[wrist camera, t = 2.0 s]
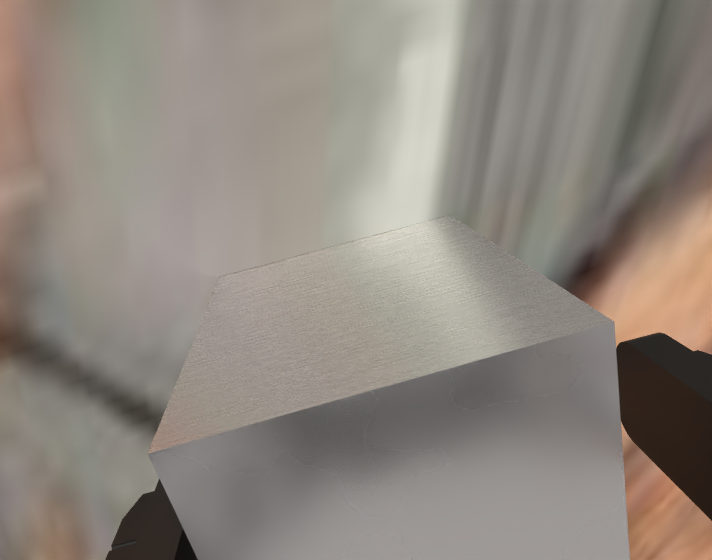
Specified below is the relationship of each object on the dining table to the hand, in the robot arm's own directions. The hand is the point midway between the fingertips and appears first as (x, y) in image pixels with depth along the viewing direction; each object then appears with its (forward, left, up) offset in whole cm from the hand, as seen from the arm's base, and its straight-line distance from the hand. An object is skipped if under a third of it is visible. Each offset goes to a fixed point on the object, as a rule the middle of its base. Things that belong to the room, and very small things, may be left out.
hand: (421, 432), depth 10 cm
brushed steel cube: (0, 0, -4) cm, 4 cm away
